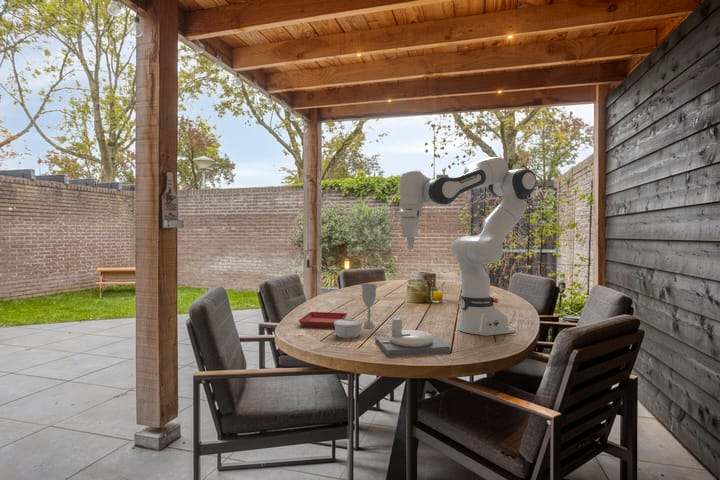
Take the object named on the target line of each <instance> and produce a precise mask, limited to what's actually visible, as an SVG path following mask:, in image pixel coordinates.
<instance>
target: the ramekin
mask: <svg viewBox="0 0 720 480" xmlns="http://www.w3.org/2000/svg"><path fill="white" fill-rule="evenodd" d="M334 325H335V328H334V330H335V331H334V332H335V335H336V336H337V337H339V338H343V339H344V338H346V339H354V338H357V337H359V336H360V334H361V331H362V326H363V322H362V321H361V320H360V319H359V320H357V319H353V318H352V319H351V318H345V319H342V320H337V321H335V322H334Z"/></svg>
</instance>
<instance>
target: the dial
mask: <svg viewBox="0 0 720 480" xmlns="http://www.w3.org/2000/svg"><path fill="white" fill-rule="evenodd" d="M433 335H434V334H432V333H431V332H427V331H423V330H416V329H403V319H402V318H400V317H399V318H398V317H396V318H395V317H394V318H391V333H390V334H389V336H390V341H391V342H392V343H393V344H396V345H400V346H407V347H421V346H427V345H430V344H432V343H433Z"/></svg>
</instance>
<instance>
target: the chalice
mask: <svg viewBox="0 0 720 480" xmlns="http://www.w3.org/2000/svg"><path fill="white" fill-rule="evenodd" d="M360 286H361V288H362V289H361V296H362V301H363V302H364V304H365V306H366V307H367V315H366V316H367V321H365V322H364V324H363V325H362V326H363V327H364V329H375V328H376V327H375V323H374V322H373V321H372V320H371V317H372V315H371V312H372V310H371V307H373V305H374V302H375V301H376V298H377V297H376V296H377V287H378V284H377V283H362V284H361V285H360ZM363 327H362V328H363Z"/></svg>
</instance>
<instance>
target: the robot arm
mask: <svg viewBox="0 0 720 480" xmlns="http://www.w3.org/2000/svg"><path fill="white" fill-rule="evenodd" d="M536 186H537V176H536V174H535V172H534V171H532V170H531V169H527V168H519V169H509V165H508V163H507V161H506V160H505V159H504V158H503V157H500V156H493V157H491V156H490V157H487V158H482V159H479V160H477V161H475V162H472V163H471V164H469V165H467V166H466V167H464V170H463V174H461V175H458V176H455V177H451V176H441V177H439V178H434V179H431V178H429V177H427V176H426V175H424V174H423V173H422V172H421V170H419V169H418V170H417V169H416V170H410V171H405V172H404V173H402V175H401V176H400V181H399V193H398V194H399V197H400V198H399V199H400V201H399V204H398V205H399V207H398V208H399V210H398V211H399V218H400V220H401V222H400V223H401V233H402V237H403V238H406V239H407V240H406V242H407V249H408V250H414V245H415V243H414V242H415V238H417V237H418V234H419V230H418V229H419V227H418V226H419V222H420V218H423V206H424V205H426V206H434V205H435V206H436V205H448V204H451V203H453V202H454V201H455V200H456V199H457V198H458V196H460V195H461V194H462V193H465V192H468V191H469V190H479V189H483V188H486V187H488V190H489V193H490V194H491V195H493V196H494V197H498V198H501V200H500V202H499V204H498V205H496V207H495V208H494V209H493V210H492V211H491V212H490V213H489V214H488V216H487V217H485V219H484V220H483V222H482V231H481V232H480V233H479V234H476V235H464V236H460V237H458V238H456V239H455V240H454V241H453V243H452V247H451V251H452V255H453V256H454V257H455V259H456V261H457V263H458V267H459V269H460V270H459V271H460V275H461V295H460V319H459V322H458V327H457V330H458V331H460V332H462V333H467V334H472V335H480V336H496V335H502V334H503V335H504V334H510V333H515V329H514V327H512V326H510V325H509V319H508V317H507V315H506V314H505V313H504V312H502V311H501V310H500V309H499V308H497V307H496V306H495V304H499V301H500V300H499V298H497V297H492V296H491V290H490V289H491V278H490V276H489V275H488V273H487V272H486V270H485V267H484V264H485V265H488V264H492V263H493V264H494V263H496V262H497V263H498V261H501V259H502V257H503V254H504V246H503V243H504V241H505V239H506V237H507V236H508V235H509V234H510V232H511V231H512V230H513V229H514V228H515V227H516V225H517V224H518V223H519V222H520V220H521V219H522V217H523V215H524V214H525V212H526V210H527V204H526V203H527V202H526V201H525V200H527V199H529V198H530V197H531V195H532V193H533V192H534V191H535V188H536ZM494 303H495V304H494Z"/></svg>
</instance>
